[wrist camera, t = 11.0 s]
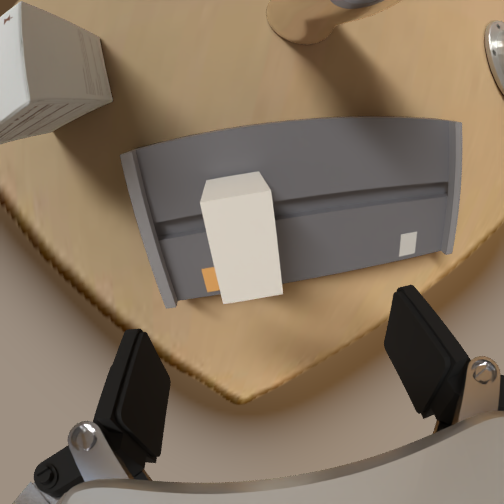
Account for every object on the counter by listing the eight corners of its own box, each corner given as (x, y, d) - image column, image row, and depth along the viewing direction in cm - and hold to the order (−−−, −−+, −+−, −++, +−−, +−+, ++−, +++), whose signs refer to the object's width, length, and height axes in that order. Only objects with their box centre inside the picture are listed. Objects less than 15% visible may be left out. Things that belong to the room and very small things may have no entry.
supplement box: (38, 69, 17) (-52, 65, 6) (101, 35, 17) (22, -5, 6) (51, 134, 20) (-42, 160, 9) (115, 103, 20) (30, 102, 9)
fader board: (437, 118, 23) (461, 122, 19) (432, 238, 29) (452, 253, 26) (135, 148, 22) (119, 154, 19) (172, 284, 29) (166, 308, 25)
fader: (257, 168, 22) (271, 190, 16) (268, 247, 25) (283, 294, 19) (207, 176, 22) (200, 202, 16) (222, 254, 25) (223, 304, 19)
